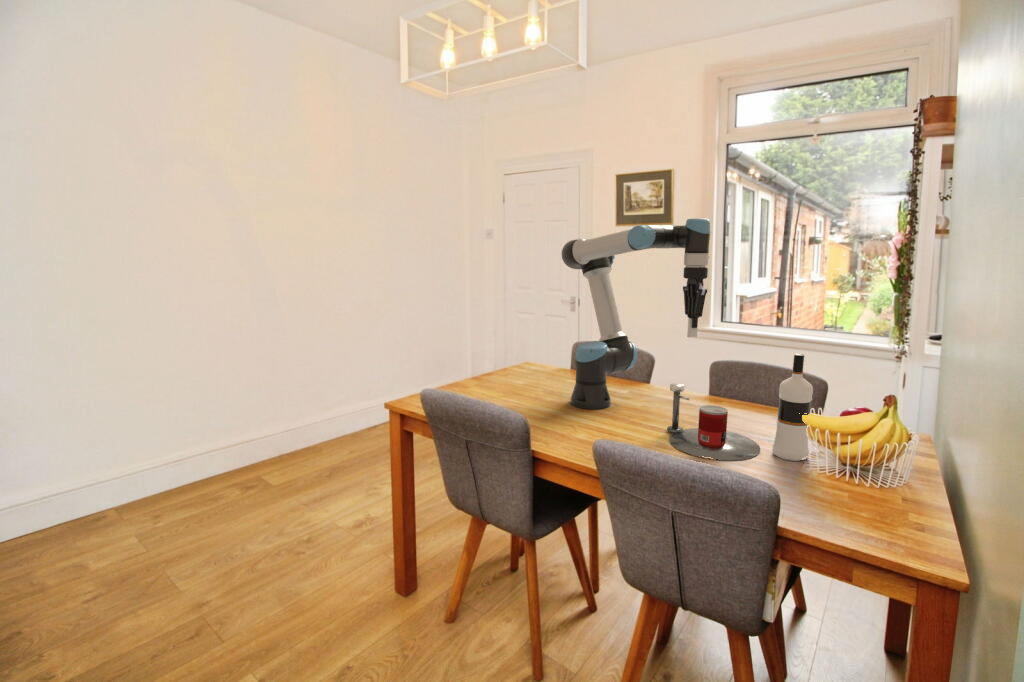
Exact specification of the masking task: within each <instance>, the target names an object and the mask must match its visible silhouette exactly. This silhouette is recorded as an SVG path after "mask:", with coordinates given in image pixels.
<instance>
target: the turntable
mask: <svg viewBox="0 0 1024 682" xmlns="http://www.w3.org/2000/svg"><path fill="white" fill-rule="evenodd" d="M669 440H670V441H669V443H670V442H671V443H670V444H671V446H672V447H674V446H675V447H676V448H678V449H679V450H678V449H677V450H678V451H680V450H682V451H684V452H686V453H685V454H687V453H688V454H687V455H690V454H691V455H690V456H693V455H695V456H694V457H696V456H700V457H702V456H704V457H711V458H713V459H718V460H717V461H721V460H723V461H726V462H737V461H744V460H745V461H746V460H750V459H753V458H755V457H757V456H758V455H759V454H760V453H761V447H760V445H759V444H758V443H757V442H756V441H754V440H753V439H751V438H750V437H747V436H745V435H742V434H740V433H736V432H733V431H728V430H726V443H725V445H724V446H723V447H720V448H712V447H706V446H703V445H701V444H700V443H699V442H698V428H697V427H695V428H693V427H692V428H686V429H683V432H682V433H673V434H672V433H671V434H670V436H669ZM675 447H674V448H675ZM676 448H675V449H676ZM682 451H681V452H682ZM684 452H683V453H684ZM700 457H699V458H700ZM723 461H722V462H723Z"/></svg>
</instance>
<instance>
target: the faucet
mask: <svg viewBox="0 0 1024 682" xmlns="http://www.w3.org/2000/svg"><path fill="white" fill-rule="evenodd" d="M669 391H672V392H673V395H672V396H673V397H672V399H673V400H672V401H673V402H672V418H671V419H672V421H671V425H668V426H667V428H666V431H668V433H669V432H670V433H669V434H672V433H682V432H683V430H684V428H683V427H681V426H679V425H680V422H679V420H680V405H681V404H680V403H681V399H682V400H686V401H690V400H691V399H690V397H688V396H687V397H686V396H683V395H681V393H683V392H685V384H683V383H678V382H677V383H670V385H669Z"/></svg>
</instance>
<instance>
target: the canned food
mask: <svg viewBox="0 0 1024 682" xmlns="http://www.w3.org/2000/svg"><path fill="white" fill-rule="evenodd" d="M698 411H699V413H698V442H699V443H700V444H701V445H703V446H706V447H712V448H720V447H723V446H724V445H725V443H726V431H727V428H728V427H727V425H728V409H727V408H725V407H722V406H720V405H713V404H712V405H711V404H707V405H706V404H705V405H701V406H699V410H698Z"/></svg>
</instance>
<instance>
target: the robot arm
mask: <svg viewBox="0 0 1024 682" xmlns="http://www.w3.org/2000/svg"><path fill="white" fill-rule="evenodd" d="M685 222H686V223H685V224H684V225H653V224H652V225H651V224H650V225H648V224H639V225H635V226H633V227H632V228H630V229H626V230H622V231H619V232H614V233H609V234H605V235H601V236H597V237H593V238H591V239H590V238H589V239H585V238H577V239H572V240H570V241H567V242H566V243H565V244H564V246H562V249H561V259H562V261H563V263H564V264H565V265H566V266H567V267H568V268H570V269H573V270H581V272H582V276H583V277H584V278H586V279H587V280H588V281H587V282H588V286H589V289H590V293H591V298H592V304H593V307H594V308H593V309H594V312H595V316H596V321H597V324H598V330H599V334H600V338H599V340H597V341H596V340H595V341H594V340H593V341H587V342H584V343H581V344H579V345H578V346H577V347H576V350H575V351H576V352H575V356H574V357H575V384H574V386H573V390H572V393H571V396H570V404H571V405H572V406H574V407H576V408H579V409H585V410H601V409H606V408H608V407H610V406H611V396H610V393H609V389H608V386H607V375H611V374H615V373H616V374H617V373H622V372H623V373H624V372H626V371H628V370H631V369H633V367H634V366H635V364H636V363H637V361H638V348H637V347H636V345H635V343H633V342H632V341H630V340H629V336H628V335H627V333H624V332H623V329H622V325H621V320H620V316H619V312H618V307H617V303H616V298H615V295H614V289H613V286H612V281H611V277H610V272H611V271H612V270H613V268H612V265H613V264H614V261H615V260H614V259H615V257H616V256H617V255H623V254H626V253H633V252H636V251H644V250H649V249H684V255H683V257H684V259H683V265H684V266H685V267H684V268H683V278H684V279H687V280H686V285H685V286H682V291H683V292H682V293H683V298H684V299H683V301H684V302H683V304H684V315H685V316H686V315H687V316H686V317H687V318H688V319H687V334H686V335H687V338H697V337H698V325H699V324H698V322H699V318H702V317H703V311H704V306H705V301H706V296H707V293H708V288H704V286H705V285H704V279H707V278H708V275H709V274H708V272H709V268H708V267H707V266H708V265H709V259H710V256H709V255H710V254H709V252H710V251H709V248H710V239H711V221H710V219H708V218H703V217H701V218H688V219H687V220H686V221H685Z"/></svg>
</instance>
